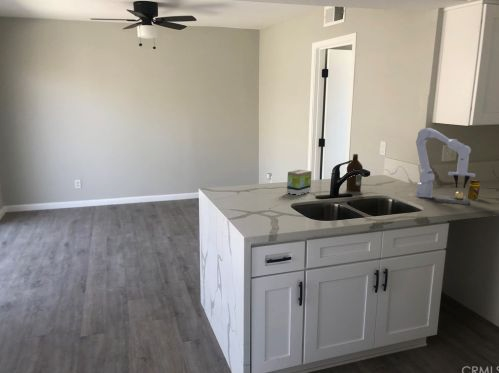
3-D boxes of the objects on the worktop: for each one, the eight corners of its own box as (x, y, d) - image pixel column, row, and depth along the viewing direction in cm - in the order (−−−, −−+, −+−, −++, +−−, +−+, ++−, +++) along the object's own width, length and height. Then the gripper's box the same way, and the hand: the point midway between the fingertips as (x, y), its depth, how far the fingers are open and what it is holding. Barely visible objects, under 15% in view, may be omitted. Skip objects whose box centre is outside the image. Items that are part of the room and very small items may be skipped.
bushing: (454, 202, 260) (455, 192, 259) (454, 200, 264) (455, 191, 262) (462, 203, 258) (463, 193, 257) (462, 201, 262) (463, 192, 260)
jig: (435, 201, 261) (436, 198, 260) (435, 197, 271) (435, 194, 270) (468, 204, 254) (468, 201, 254) (466, 200, 264) (467, 197, 264)
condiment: (478, 200, 265) (480, 181, 262) (463, 198, 269) (465, 180, 266) (478, 198, 271) (481, 179, 269) (464, 196, 275) (466, 178, 273)
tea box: (299, 196, 273) (300, 173, 270) (286, 193, 279) (286, 171, 276) (311, 192, 285) (311, 170, 282) (298, 190, 291) (298, 168, 288)
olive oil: (342, 190, 292) (344, 154, 286) (351, 188, 299) (353, 152, 294) (355, 192, 284) (358, 155, 279) (364, 190, 291) (366, 154, 286)
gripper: (449, 165, 255) (447, 187, 258) (476, 167, 250) (474, 189, 253) (449, 164, 262) (447, 185, 265) (475, 165, 256) (473, 187, 259)
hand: (460, 187), depth 259 cm, fingers open, 3 cm apart
